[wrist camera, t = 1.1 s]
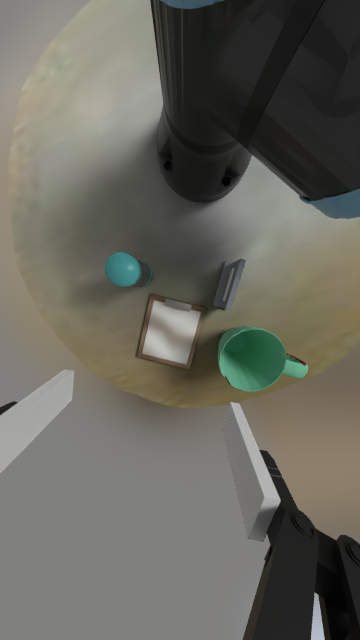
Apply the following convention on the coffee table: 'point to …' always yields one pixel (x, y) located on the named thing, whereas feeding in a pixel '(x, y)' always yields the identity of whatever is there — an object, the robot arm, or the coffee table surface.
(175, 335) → the clipboard
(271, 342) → the mug
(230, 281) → the gray bookend
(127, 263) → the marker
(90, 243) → the coffee table surface
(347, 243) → the coffee table surface
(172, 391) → the coffee table surface
